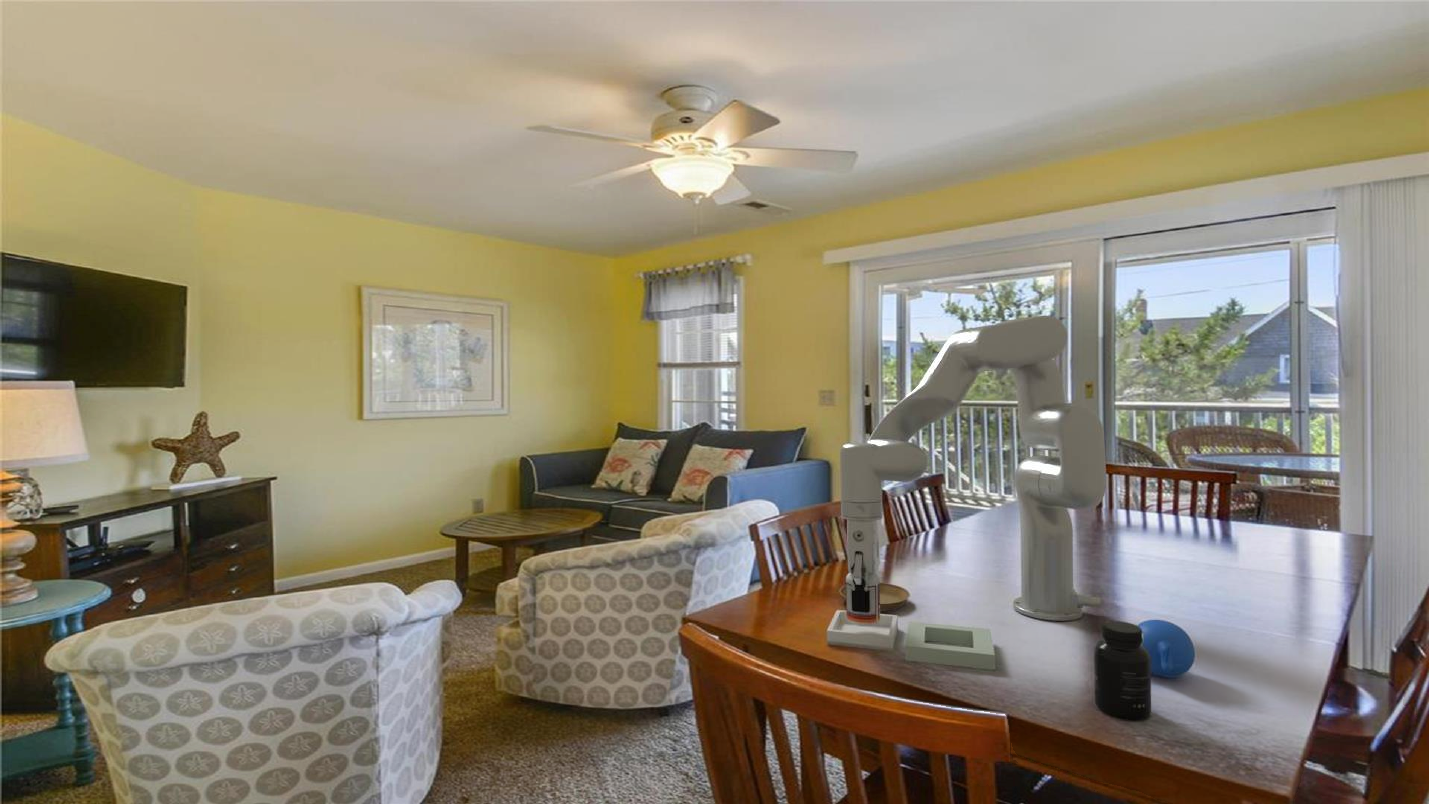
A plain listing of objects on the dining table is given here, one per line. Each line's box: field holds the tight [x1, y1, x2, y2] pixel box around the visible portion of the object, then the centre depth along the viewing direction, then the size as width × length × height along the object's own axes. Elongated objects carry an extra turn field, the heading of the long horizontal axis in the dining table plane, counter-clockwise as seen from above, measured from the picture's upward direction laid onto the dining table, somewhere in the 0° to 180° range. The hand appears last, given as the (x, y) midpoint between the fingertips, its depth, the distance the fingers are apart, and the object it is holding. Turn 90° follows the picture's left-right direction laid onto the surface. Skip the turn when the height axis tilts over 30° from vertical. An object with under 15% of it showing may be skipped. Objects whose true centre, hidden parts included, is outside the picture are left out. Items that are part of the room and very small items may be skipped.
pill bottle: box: [845, 567, 881, 626], centre depth 122 cm, size 6×6×11 cm
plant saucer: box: [839, 582, 911, 612], centre depth 141 cm, size 15×15×3 cm
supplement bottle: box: [1093, 620, 1152, 722], centre depth 92 cm, size 7×7×12 cm
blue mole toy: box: [1136, 619, 1196, 678], centre depth 104 cm, size 12×12×8 cm
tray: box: [826, 609, 899, 652], centre depth 122 cm, size 12×12×2 cm
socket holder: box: [904, 621, 996, 671], centre depth 114 cm, size 14×12×2 cm
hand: (863, 604), depth 122 cm, fingers closed on pill bottle, 6 cm apart
